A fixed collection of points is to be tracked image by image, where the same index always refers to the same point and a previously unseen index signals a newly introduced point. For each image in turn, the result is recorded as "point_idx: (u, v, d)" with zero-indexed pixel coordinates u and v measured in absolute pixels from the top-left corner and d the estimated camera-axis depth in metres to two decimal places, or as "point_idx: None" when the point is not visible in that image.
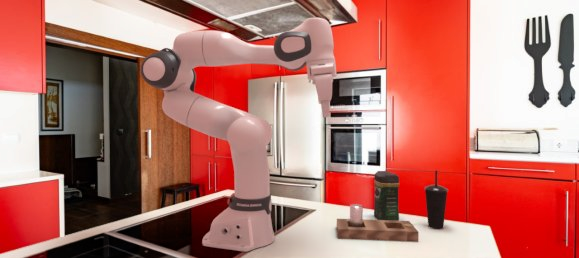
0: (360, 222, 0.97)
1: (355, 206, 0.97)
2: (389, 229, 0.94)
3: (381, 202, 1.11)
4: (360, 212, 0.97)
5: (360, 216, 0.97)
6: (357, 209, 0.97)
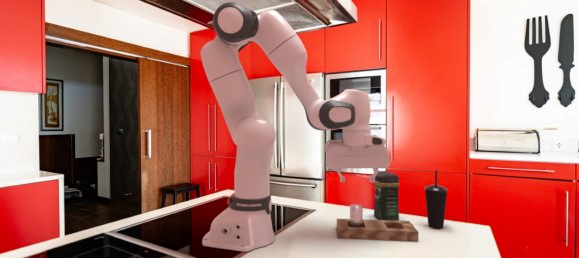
0: (360, 222, 0.97)
1: (355, 206, 0.97)
2: (389, 229, 0.94)
3: (381, 202, 1.11)
4: (360, 212, 0.97)
5: (360, 216, 0.97)
6: (357, 209, 0.97)
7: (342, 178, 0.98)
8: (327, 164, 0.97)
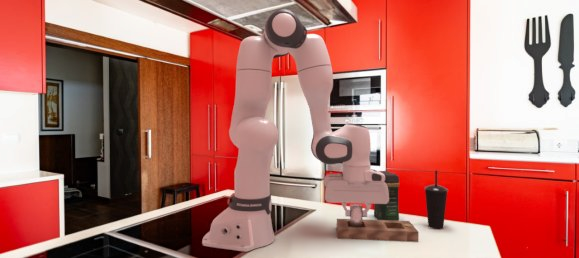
0: (360, 222, 0.97)
1: (355, 206, 0.97)
2: (389, 229, 0.94)
3: None
4: (360, 212, 0.97)
5: (360, 216, 0.97)
6: (357, 209, 0.97)
7: (347, 212, 0.98)
8: (326, 198, 0.98)
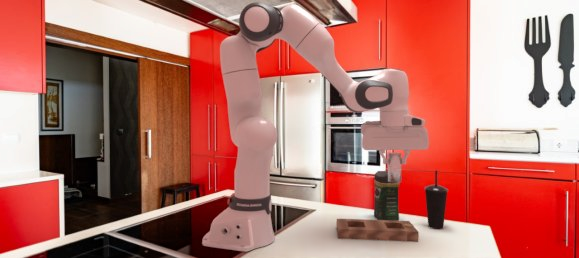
0: (399, 169, 0.95)
1: (393, 153, 0.96)
2: (389, 229, 0.94)
3: (381, 202, 1.11)
4: (399, 159, 0.95)
5: (399, 163, 0.95)
6: (396, 156, 0.95)
7: (386, 160, 0.96)
8: (364, 145, 0.96)
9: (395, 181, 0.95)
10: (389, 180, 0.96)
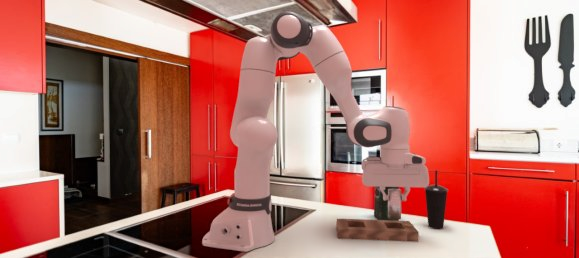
0: (399, 206, 0.96)
1: (394, 190, 0.96)
2: (389, 229, 0.94)
3: (381, 202, 1.11)
4: (399, 196, 0.96)
5: (399, 200, 0.96)
6: (396, 193, 0.95)
7: (386, 196, 0.97)
8: (365, 182, 0.96)
9: (395, 218, 0.95)
10: (389, 216, 0.97)
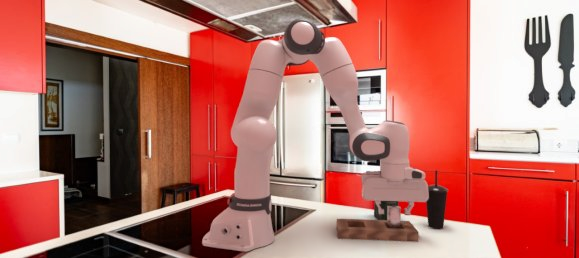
0: (398, 223, 0.96)
1: (393, 207, 0.96)
2: (389, 229, 0.94)
3: (381, 202, 1.11)
4: (399, 213, 0.96)
5: (399, 217, 0.96)
6: (396, 210, 0.95)
7: (381, 210, 0.97)
8: (364, 196, 0.96)
9: None
10: None
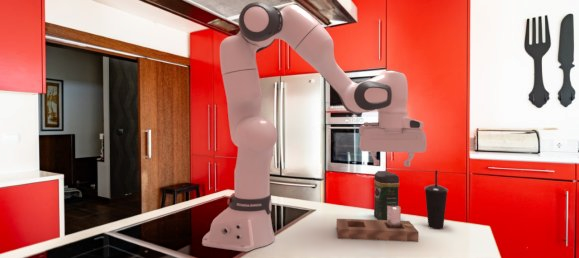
0: (398, 223, 0.96)
1: (393, 207, 0.96)
2: (389, 229, 0.94)
3: (381, 202, 1.11)
4: (398, 213, 0.96)
5: (398, 217, 0.96)
6: (396, 210, 0.95)
7: (376, 162, 0.96)
8: (362, 147, 0.96)
9: None
10: None
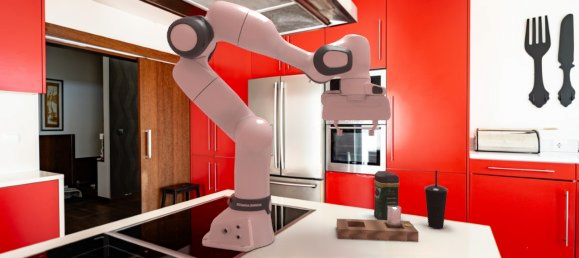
0: (398, 223, 0.96)
1: (393, 207, 0.96)
2: (389, 229, 0.94)
3: (381, 202, 1.11)
4: (399, 213, 0.95)
5: (399, 217, 0.96)
6: (396, 211, 0.95)
7: (339, 131, 0.92)
8: (323, 115, 0.91)
9: None
10: None
